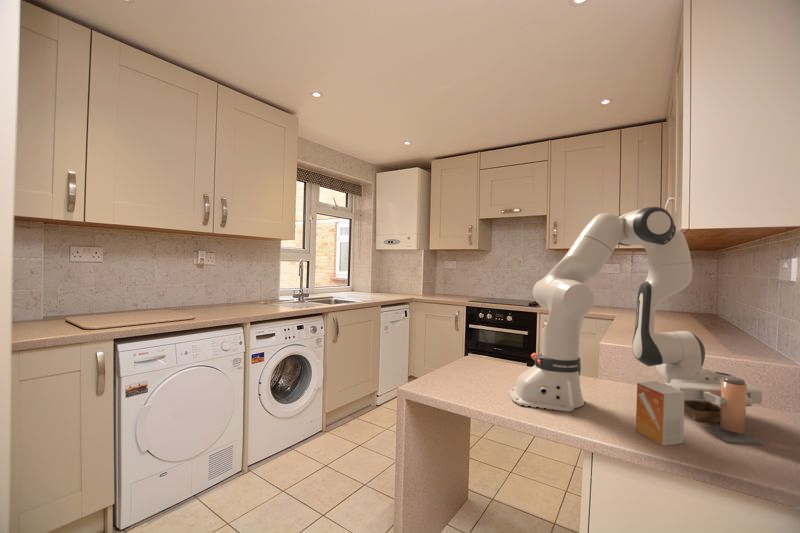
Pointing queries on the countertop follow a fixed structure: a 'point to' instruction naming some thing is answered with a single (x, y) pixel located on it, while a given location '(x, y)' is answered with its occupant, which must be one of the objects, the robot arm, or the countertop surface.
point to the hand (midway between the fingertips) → (736, 402)
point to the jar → (733, 404)
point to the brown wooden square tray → (709, 415)
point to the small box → (660, 412)
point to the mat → (733, 436)
